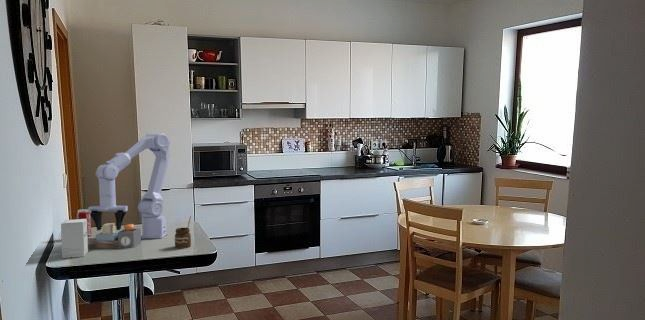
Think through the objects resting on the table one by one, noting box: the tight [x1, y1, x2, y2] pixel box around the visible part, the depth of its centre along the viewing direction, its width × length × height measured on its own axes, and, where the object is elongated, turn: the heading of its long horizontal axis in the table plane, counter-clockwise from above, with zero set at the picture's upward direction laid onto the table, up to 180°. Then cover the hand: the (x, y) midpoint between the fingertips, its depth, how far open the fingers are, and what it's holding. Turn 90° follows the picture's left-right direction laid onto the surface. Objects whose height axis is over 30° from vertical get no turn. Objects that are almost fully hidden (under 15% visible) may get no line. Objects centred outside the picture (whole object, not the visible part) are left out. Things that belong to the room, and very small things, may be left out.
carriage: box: [95, 222, 120, 241], centre depth 181 cm, size 7×7×6 cm
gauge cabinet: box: [117, 227, 142, 249], centre depth 181 cm, size 6×8×6 cm
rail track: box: [87, 232, 118, 249], centre depth 182 cm, size 17×8×4 cm, turn 90°
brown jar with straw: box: [174, 215, 192, 249], centre depth 178 cm, size 6×6×12 cm
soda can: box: [76, 208, 92, 238], centre depth 195 cm, size 5×5×12 cm
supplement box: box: [60, 218, 89, 259], centre depth 167 cm, size 7×7×13 cm
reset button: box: [123, 223, 135, 231], centre depth 181 cm, size 4×4×2 cm
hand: (109, 229), depth 181 cm, fingers open, 7 cm apart
